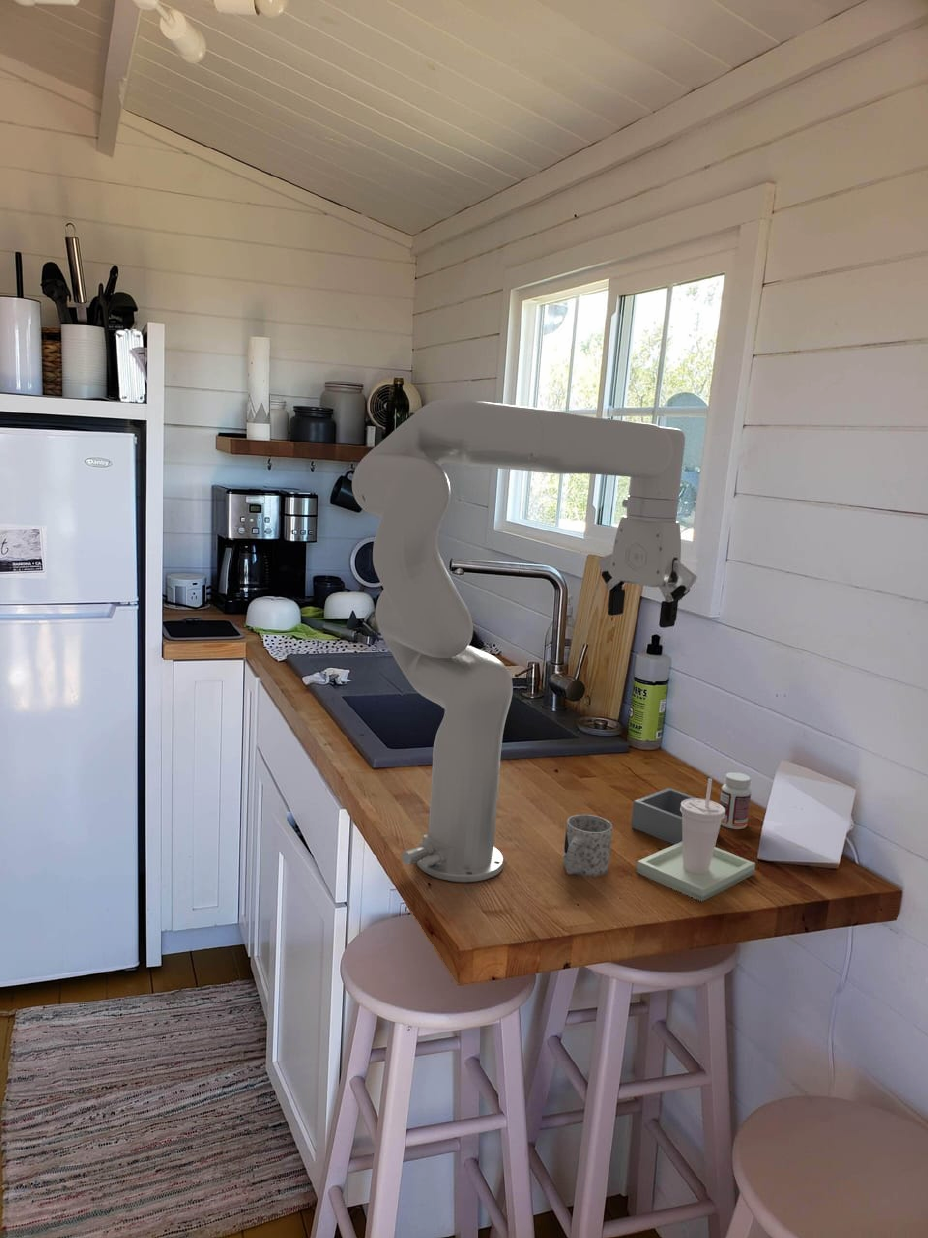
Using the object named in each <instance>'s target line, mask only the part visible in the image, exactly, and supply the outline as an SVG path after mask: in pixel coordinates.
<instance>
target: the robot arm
mask: <svg viewBox="0 0 928 1238" xmlns="http://www.w3.org/2000/svg"><path fill="white" fill-rule="evenodd" d="M685 444H686V436H685V434H684V432H683V431H682V430H681V429H679V428H675V427H669V426H668V427H666V426H659V425H658V424H654V423H647V422H640V421H639V422H638V421H631V420H622V419H612V418H605V417H604V418H602V417H596V416H588V415H582V414H577V413H572V412H568V411H561V410H555V409H554V410H553V409H545V408H538V407H530V406H529V407H528V406H521V405H520V406H519V405H513V404H512V405H511V404H506V403H505V404H504V403H496V402H495V403H494V402H487V401H480V400H479V401H478V400H467V399H466V400H464V399H463V400H457V399H455V400H454V399H439V400H434V401H431V402H428V403H427V404H426V405H423V406H422V407H421V408H419V409H418V410H416V411H415V412H414V413H413V414H412V415H411V416H409V417H408V418H407V419H406V420H405V421H403V422H402V423H401V424H400V425H398V426H397V428H395V429H394V430H393V431H392V432H390V434H389V435H387V436H386V437H385V438H384V439H382V441H380V442H379V443H378V444H377V445H376V446H375V447H374V448H372V449H371V450H370V451H369V452H368V453H366V455H364V456H363V458H362V459H361V460H360V462H359V463H358V464H357V466H356V467H355V469H354V472H353V475H352V478H351V490H352V494H353V497H354V500H355V502H356V503H357V505H358V506H359V507H360V508H361V509H362V510H363V511H365V512H366V513H368V514H370V515H373V516H376V517H378V518H380V519H379V522H378V524H377V528H376V533H375V536H374V542H373V550H372V563H373V566H374V567H373V568H374V569H375V573H376V576H377V578H378V580H379V582H380V584H381V586H382V588H383V590H381V592H380V594H379V595H378V599H377V600H376V604H375V621H376V625H377V629H378V631H379V633H380V635H381V637H382V639H383V641H384V642H385V644H386V646H387V647H388V650H389V651H390V653H391V655H392V656H393V658H394V659H395V662H396V663H397V665H398V666H399V668H400V669H401V671H402V673H403V674H404V676H405V677H406V680H408V681H407V682H409V684H410V685H411V686H412V688H413V689H414V690H415V691H416V692H417V693H418V694H419V695H421V696H422V697H424V698H425V699H427V700H428V701H431V702H432V703H435V704H436V705H438V706H440V708H443V709H444V714H443V718H442V720H441V722H440V724H439V726H438V729H437V731H436V734H435V739H434V744H433V749H432V751H433V752H432V771H431V772H432V774H431V789H430V802H429V803H430V804H429V805H430V806H429V818H428V819H429V821H428V833H427V834H423V835H422V843H420V844H419V845H418V846H417V847H416V848H415V847H414V848H412V849H408V850H405V851H403V852H402V854H401V860H402V862H403V863H404V865H405V866H409V865H412V864H415V863H416V865H417V866H418V868H420V870H421V871H423V872H424V873H425V874H427V875H429V876H431V877H433V878H436V879H439V880H444V881H449V882H454V883H475V882H481V881H486V880H489V879H491V878H494V877H495V876H497V875H498V874H499V873H500V872H501V871H502V870H503V867H504V856H503V854H502V853H501V852H500V851H499V849H497V848H496V847H495V835H496V834H495V833H496V823H497V822H496V819H497V810H498V809H497V806H498V795H499V780H500V772H501V771H500V768H501V753H502V745H503V744H502V743H503V735H504V730H505V724H506V720H507V717H508V716H507V715H508V713H509V709H510V707H511V702H512V698H513V694H514V693H513V692H514V690H513V689H514V686H513V678H512V676H511V674H510V671H509V670H508V668H507V666H506V665H505V664H504V663H503V662H502V661H501V660H500V659H498V657H496V656H494V655H492V654H490V653H489V652H486V651H484V650H482V649H479V648H476V647H474V646H472V645H470V643H471V641H472V639H473V634H474V626H473V619H472V615H471V613H470V612H469V609H468V606H467V605H466V603H465V601H464V600H463V598H462V596H461V594H460V593H459V590H458V589H457V588H458V587H456V585H455V583H454V582H453V579H452V578H451V576H450V574H449V572H448V570H447V568H446V566H445V564H444V561H443V559H442V557H441V555H440V551H439V547H438V539H439V537H438V536H439V532H440V527H441V526H442V522H443V519H444V517H445V515H446V512H447V510H448V506H449V504H450V501H451V483H450V480H449V478H448V475H447V473H446V472H445V471H444V469H443V468H442V465H443V464H451V465H458V466H464V467H465V466H466V467H475V468H485V469H498V470H499V469H500V470H511V471H512V470H514V471H524V472H534V473H547V474H549V473H550V474H563V475H564V474H592V475H603V476H604V475H606V476H615V477H618V476H619V477H629V485H628V496H627V498H624V499H623V500H622V503H621V505H622V507H623V508H625V509H626V515H622V516H621V517H620V521H619V523H618V527H617V528H616V533H615V537H614V541H613V542H614V543H613V546H612V552H611V554H608V555H606V556H604V557H602V558H599V560H598V564H599V567H600V571H601V572H602V573H601V577H602V579H603V581H604V582H605V584H606V585H605V586H606V589H607V590H609V592H608V603H607V615H608V616H611V617H613V616H619V615H620V616H621V615H623V613H624V608H625V599H626V589H624V588H623V587H624V586H625V585H626V584H627V583H628V584H633V585H638V586H643V587H649V588H659V590H660V592H661V593H662V596H663V597H664V600H663V601H662V602H661V604H660V614H659V620H658V621H659V624H658V625H659V627H660V628H670V627H674V626H675V624H676V621H677V617H678V616H677V614H678V608H679V607H678V605H679V602H681V601H682V600H683V598H684V597H685V596H686V595H687V594H688V593H689V592H690V591H691V588H692V587H693V585H694V584H695V582H696V580H697V575H696V574H695V573H694V572H692V571H691V570H690V569H689V568H687V566H686V565H684V564H683V563H682V562H681V559H682V557H681V556H682V537H681V536H682V535H681V526H680V521H677V517H678V508H679V501H680V500H679V499H680V491H681V482H682V481H681V480H682V471H683V462H684V454H685V452H684V451H685ZM679 577H680V578H681V580H682V581H681V583H680V585H678V584H677V583H678V582H679V581H678V580H679Z"/></svg>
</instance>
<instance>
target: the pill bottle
mask: <svg viewBox="0 0 928 1238" xmlns="http://www.w3.org/2000/svg"><path fill="white" fill-rule="evenodd" d="M751 780H752V778H751V777H750V776H749V775H748V774H744V773H743V772H727V773H726V774H725V779H724V784H723V785H722V786H721V790H720V791H721V792H720V793H721V794H720V803H719V804H720V805H722V806H723V807H724V808H725V818H724V819H722V822H721V826H722V827H725V828H728V829H731V830H732V829H734V830H741V829H742V830H743V829H745V828H746V827H747V826H748V822H749V813H750V806H751V796H752V790H751V788H750V786H751Z"/></svg>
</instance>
